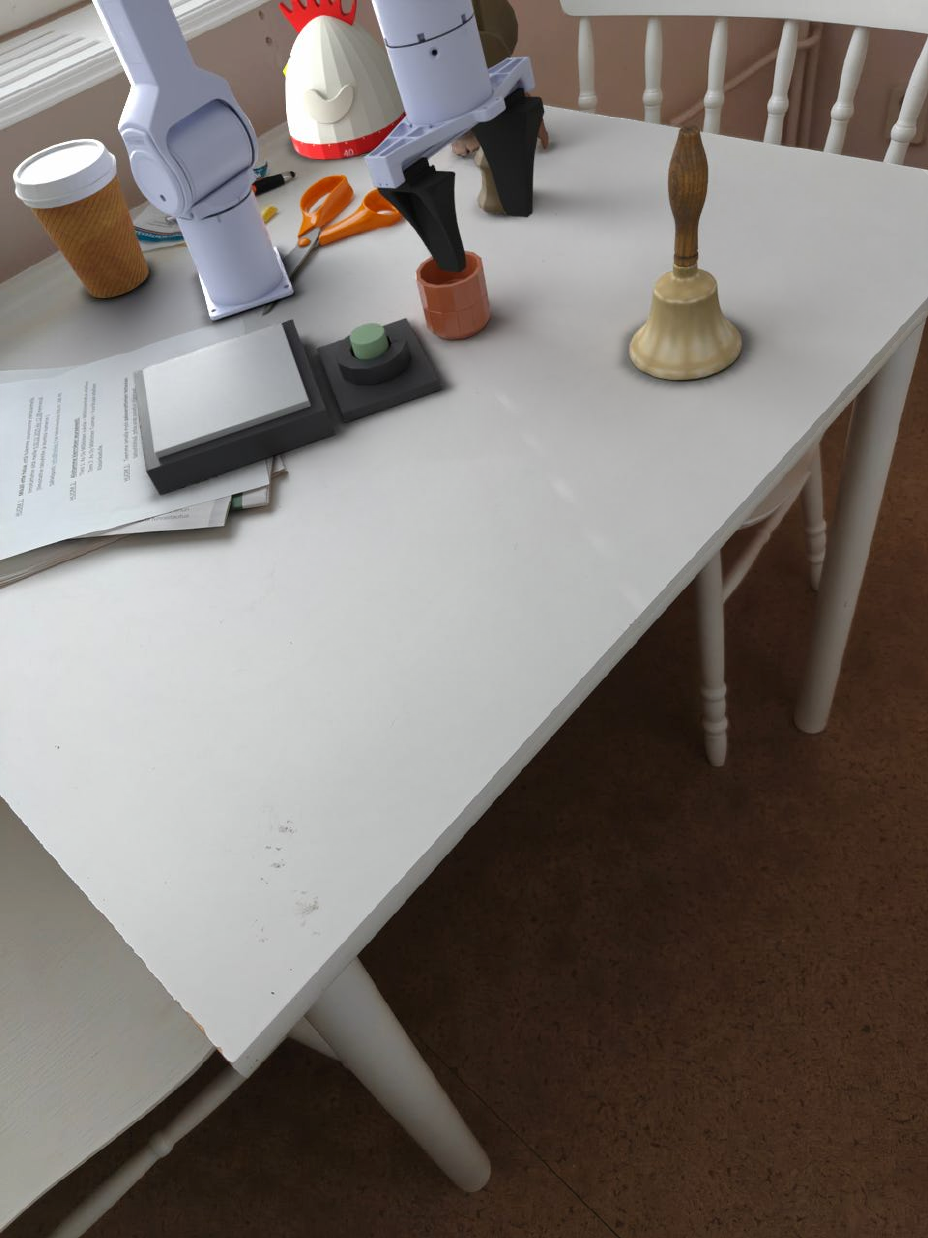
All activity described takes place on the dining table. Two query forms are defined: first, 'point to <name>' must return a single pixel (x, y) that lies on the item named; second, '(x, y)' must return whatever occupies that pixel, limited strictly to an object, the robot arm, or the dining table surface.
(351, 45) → the kitchen timer
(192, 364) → the scale
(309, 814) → the dining table surface
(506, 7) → the kendama
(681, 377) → the hand bell
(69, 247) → the disposable coffee cup
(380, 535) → the dining table surface
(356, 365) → the pad
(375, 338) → the tare button
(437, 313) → the terracotta flower pot
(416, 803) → the dining table surface
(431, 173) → the robot arm
